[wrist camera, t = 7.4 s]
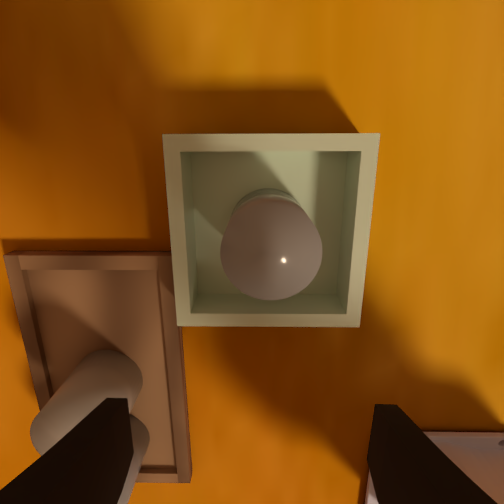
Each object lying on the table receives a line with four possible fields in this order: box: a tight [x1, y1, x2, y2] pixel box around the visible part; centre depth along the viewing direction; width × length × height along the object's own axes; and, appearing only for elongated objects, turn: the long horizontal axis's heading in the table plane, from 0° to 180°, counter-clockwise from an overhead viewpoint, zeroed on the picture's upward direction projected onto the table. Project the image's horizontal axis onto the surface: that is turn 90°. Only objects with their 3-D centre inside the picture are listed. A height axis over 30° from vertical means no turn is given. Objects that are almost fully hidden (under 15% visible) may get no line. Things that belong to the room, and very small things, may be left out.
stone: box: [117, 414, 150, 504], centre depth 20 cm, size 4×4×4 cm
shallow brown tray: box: [3, 251, 192, 483], centre depth 21 cm, size 9×16×1 cm, turn 0°
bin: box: [162, 133, 380, 327], centre depth 17 cm, size 9×9×3 cm
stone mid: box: [30, 350, 143, 456], centre depth 19 cm, size 4×4×4 cm
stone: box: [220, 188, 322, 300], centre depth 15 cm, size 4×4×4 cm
